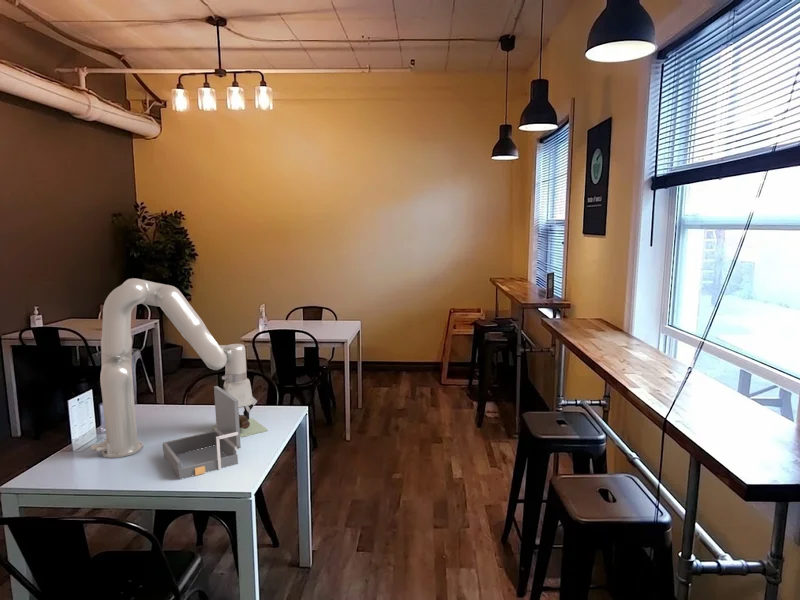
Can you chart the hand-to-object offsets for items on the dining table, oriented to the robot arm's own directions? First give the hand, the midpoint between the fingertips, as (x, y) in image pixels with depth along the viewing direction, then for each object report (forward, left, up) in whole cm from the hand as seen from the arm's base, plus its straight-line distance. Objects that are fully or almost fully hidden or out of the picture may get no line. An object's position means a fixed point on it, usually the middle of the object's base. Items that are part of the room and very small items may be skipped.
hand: (238, 423), depth 202 cm
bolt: (0, 0, -1) cm, 1 cm away
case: (-20, -19, -3) cm, 28 cm away
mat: (0, 0, -3) cm, 3 cm away
